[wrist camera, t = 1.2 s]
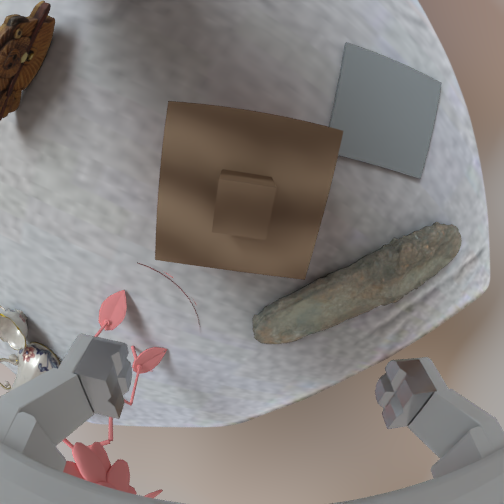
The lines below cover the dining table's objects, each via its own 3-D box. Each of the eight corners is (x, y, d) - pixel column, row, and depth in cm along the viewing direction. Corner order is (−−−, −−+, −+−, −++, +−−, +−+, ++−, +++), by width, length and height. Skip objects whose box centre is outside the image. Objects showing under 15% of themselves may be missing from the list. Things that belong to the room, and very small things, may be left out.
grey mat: (345, 43, 27) (346, 42, 27) (439, 82, 29) (441, 82, 28) (323, 151, 33) (324, 152, 33) (417, 177, 35) (420, 179, 34)
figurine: (152, 378, 50) (123, 556, 19) (74, 262, 39) (-53, 467, 7) (229, 363, 49) (234, 568, 18) (161, 229, 37) (44, 525, 6)
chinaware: (119, 368, 51) (100, 435, 36) (90, 401, 55) (72, 458, 40) (7, 283, 42) (-40, 332, 27) (-7, 330, 46) (-41, 377, 30)
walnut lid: (171, 101, 21) (156, 100, 17) (339, 129, 23) (359, 135, 19) (157, 254, 27) (145, 280, 23) (302, 274, 29) (312, 301, 25)
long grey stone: (237, 299, 44) (267, 338, 49) (236, 324, 40) (268, 363, 44) (449, 201, 36) (456, 252, 41) (469, 217, 32) (472, 271, 36)
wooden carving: (26, 121, 29) (-22, 133, 20) (7, 113, 28) (-40, 123, 19) (75, 10, 23) (32, -8, 14) (52, 6, 21) (9, -9, 13)
